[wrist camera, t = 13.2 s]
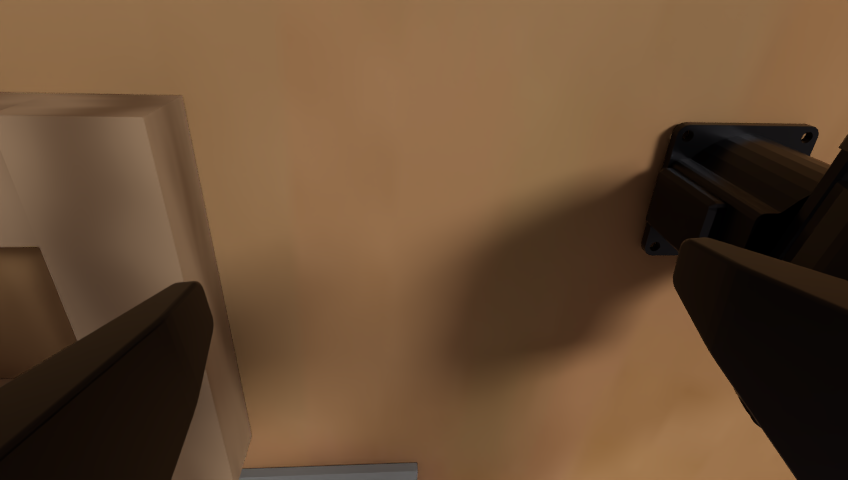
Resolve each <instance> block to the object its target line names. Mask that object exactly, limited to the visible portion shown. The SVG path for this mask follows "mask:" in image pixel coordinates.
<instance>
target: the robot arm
mask: <svg viewBox="0 0 848 480" xmlns="http://www.w3.org/2000/svg"><path fill="white" fill-rule="evenodd" d="M686 131H689V134H688V136H687V137H686V138H684V139H682V135H683V134H684V133H685V132H686ZM805 133H806V135H805V137H804V138H803V139H802V140H801V137H802V136H803V135H804V134H805ZM818 134H819V133H818V129H817V128H816V127H813V126H810V125H807V124H772V123H700V122H685V123H681V124H679V125H678V126H677V127H676V128H675V129H674V130H673V132H672V135H671V139H670V142H669V146H668V150H667V153H666V157H665V160H664V164H663V167H662V170H661V171H660V172H659V174H658V177H657V181H656V185H655V188H654V192H653V195H652V199H651V203H650V206H649V210H648V213H647V217H646V220H647V225H646V228H645V232H644V235H643V239H642V242H641V247H642V249H643V250H644V251H645V252H646V253H647V254H649V255H678V258H677V262H676V266H675V270H674V274H673V284H674V287H675V289H676V291H677V293H678V295H679V297H680V299H681V301H682V302H683V304H684V306H685V308H686V310H687V312H688V314H689V315H690V317H691V319H692V321H693V323H694V325H695V326H696V328H697V330H698V332H699V334H700V336H701V338H702V339H703V341H704V343H705V345H706V346H707V348H708V350H709V352H710V353H711V355H712V356H713V358H714V359H715V361H716V363H717V364H718V366H719V367H720V368H721V370H722V371H723V373H724V374H725V376H726V377H727V379H728V380H729V382H730V383H731V384H732V386H733V387H734V390H735V392H736V394H737V395H738V397H739V399H740V401H741V403H742V405H743V406H744V408H745V410H746V411H747V412H748V414H749V415H750V417H751V419H752V420H753V422H754V423H755V424H756V425H758V426H759V427H761V428H762V430H763V431H764V433H765V434H766V435H767V437H768V438H769V440H770V441H771V443H772V444H773V446H774V447H775V449H776V450H777V452H778V453H779V454H780V456H781V457H782V459H783V460H784V462H785V463H786V465H787V466H788V468H789V469H790V470H791V472H792V473H793V475H794V476H795V478H796V479H797V480H848V135H847V136H846V137H845V139H844V140H843V142H842V143H841V145H840V146H839V148H840V149H842V150H841V151H840V152H839V154H838V155H837V157H836V158H835V160H834V161H833V163H832V164H831V165H829V164H827V163H825V162H822V161H820V160H818V159H815V158H813V157H810V154H811V152H812V150H813V147H814V145H815V143H816V140H817V138H818ZM654 242H656V244H655V245H654V246H653V247H650V246H651V244H652V243H654ZM213 330H214V320H213V316H212V313H211V310H210V307H209V303H208V300H207V297H206V294H205V291H204V288H203V286H202V285H201V283H199V282H198V281H188V282H177V283H174V284H172V285H170V286H169V287H167V288H165V289H164V290H162V291H160V292H158V293H157V294H155V295H153V296H152V297H150V298H148V299H147V300H145V301H143V302H142V303H140V304H138V305H137V306H135V307H133V308H132V309H130V310H128V311H127V312H125V313H123V314H122V315H120V316H118V317H117V318H115V319H113V320H112V321H110V322H108V323H107V324H105V325H103V326H102V327H100V328H98V329H97V330H95V331H93V332H92V333H90V334H88V335H87V336H85V337H83V338H82V339H80V340H78V341H76V342H75V343H73V344H71V345H70V346H68V347H66V348H65V349H63V350H61V351H60V352H58V353H56V354H55V355H53V356H51V357H50V358H48V359H46V360H45V361H43V362H41V363H40V364H38V365H36V366H35V367H33V368H31V369H30V370H28V371H26V372H25V373H23V374H21V375H20V376H18V377H16V378H15V379H13V380H11V381H10V382H8V383H6V384H5V385H3V386H1V387H0V480H171V479H172V476H173V473H174V471H175V468H176V465H177V462H178V459H179V456H180V453H181V450H182V447H183V445H184V442H185V439H186V436H187V433H188V430H189V427H190V424H191V421H192V418H193V416H194V412H195V409H196V406H197V403H198V399H199V395H200V391H201V386H202V381H203V377H204V372H205V367H206V363H207V358H208V353H209V349H210V344H211V339H212V335H213Z"/></svg>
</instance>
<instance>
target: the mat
mask: <svg viewBox="0 0 848 480" xmlns="http://www.w3.org/2000/svg"><path fill="white" fill-rule="evenodd" d="M417 473H418V470H417V463H395V464H367V465H339V466H312V467H284V468H256V469H242V471H241V474H240V477H239V480H417Z"/></svg>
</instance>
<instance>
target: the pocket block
mask: <svg viewBox="0 0 848 480" xmlns="http://www.w3.org/2000/svg"><path fill="white" fill-rule="evenodd" d="M0 247H40V250H41V252H42V255H43V257H44V260H45V262H46V265H47V267H48V270H49V272H50V275H51V277H52V280H53V282H54V285H55V287H56V290H57V292H58V295H59V297H60V300H61V302H62V304H63V307H64V309H65V312H66V314H67V317H68V319H69V322H70V324H71V327H72V329H73V332H74V334H75V337H76V339H77V341H78V340H80V339H82V338H83V337H85V336H87V335H88V334H90V333H92V332H93V331H95V330H97V329H98V328H100V327H102V326H103V325H105V324H107V323H108V322H110V321H112V320H113V319H115V318H117V317H118V316H120V315H122V314H123V313H125V312H127V311H128V310H130V309H132V308H133V307H135V306H137V305H138V304H140V303H142V302H143V301H145V300H147V299H148V298H150V297H152V296H153V295H155V294H157V293H158V292H160V291H162V290H164V289H165V288H167V287H169V286H170V285H172V284H174V283H177V282H188V281H198V282H199V283H201V285H202V286H203V288H204V291H205V294H206V297H207V300H208V303H209V307H210V310H211V313H212V316H213V320H214V330H213V335H212V339H211V344H210V349H209V353H208V358H207V363H206V367H205V372H204V377H203V381H202V386H201V391H200V395H199V399H198V403H197V406H196V409H195V412H194V416H193V418H192V421H191V424H190V427H189V430H188V433H187V436H186V439H185V442H184V445H183V447H182V450H181V453H180V456H179V459H178V462H177V465H176V468H175V471H174V473H173V476H172V479H171V480H239V477H240V474H241V471H242V467H243V464H244V461H245V457H246V454H247V451H248V447H249V444H250V441H251V437H252V433H251V429H250V424H249V419H248V414H247V409H246V404H245V399H244V394H243V390H242V385H241V380H240V375H239V370H238V365H237V360H236V355H235V351H234V346H233V341H232V336H231V331H230V326H229V321H228V316H227V311H226V307H225V302H224V297H223V292H222V287H221V282H220V277H219V272H218V268H217V263H216V258H215V253H214V248H213V243H212V238H211V233H210V229H209V224H208V219H207V214H206V209H205V204H204V199H203V194H202V190H201V185H200V180H199V175H198V170H197V165H196V160H195V155H194V151H193V146H192V141H191V136H190V131H189V126H188V121H187V116H186V112H185V107H184V102H183V97H182V95H130V94H70V93H11V92H0ZM11 380H13V379H0V387H1V386H3V385H5V384H6V383H8V382H10V381H11Z"/></svg>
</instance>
